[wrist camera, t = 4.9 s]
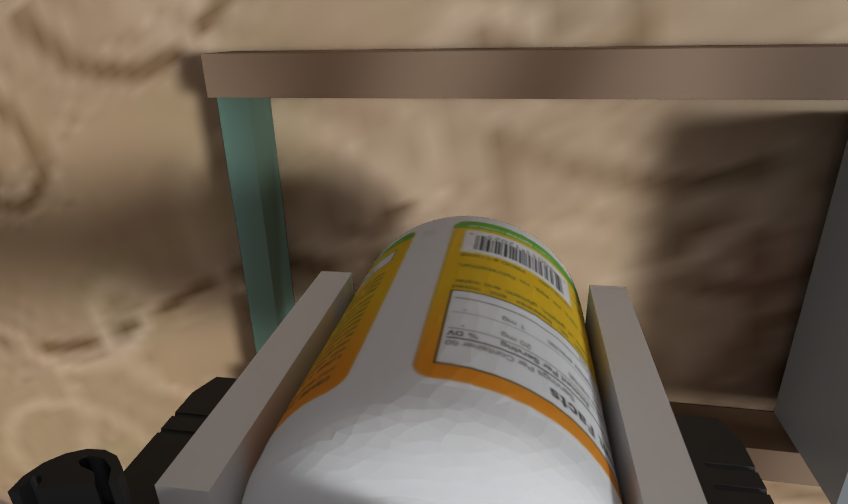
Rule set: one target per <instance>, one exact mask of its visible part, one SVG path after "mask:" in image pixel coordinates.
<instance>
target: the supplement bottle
mask: <svg viewBox="0 0 848 504" xmlns="http://www.w3.org/2000/svg"><path fill="white" fill-rule="evenodd" d="M241 504H623V502H622V497H621V494H620V490H619V483H618V479H617V477H616V472H615V468H614V463H613V458H612V452H611V448H610V443H609V439H608V434H607V428H606V424H605V420H604V415H603V409H602V404H601V398H600V394H599V390H598V385H597V380H596V376H595V370H594V365H593V361H592V355H591V351H590V346H589V341H588V336H587V332H586V327H585V322H584V317H583V312H582V308H581V304H580V301H579V297H578V293H577V291H576V288H575V285H574V283H573V281H572V279H571V277H570V275H569V273H568V272H567V270H566V269H565V267H564V266H563V265H562V263H561V262H560V261H559V259H558V258H557V257H556V256H555V255H554V254H553V253H552V252H551V251H550V250H549V249H548V248H547V247H546V246H545V245H544V244H543V243H541V242H540V241H539V240H537V239H536V238H535V237H533V236H532V235H530V234H528V233H527V232H525V231H523V230H521V229H519V228H517V227H515V226H512V225H510V224H507V223H504V222H501V221H498V220H494V219H489V218H484V217H474V216H455V217H448V218H442V219H437V220H433V221H430V222H427V223H425V224H422V225H419V226H417V227H415V228H413V229H411V230H410V231H408V232H406V233H405V234H403V235H402V236H400V237H399V238H397V239H396V240H395V241H393V242H392V243H391V244H390V245H389V246H388V247H387V248H386V249H385V250H384V251H383V252H382V253H381V255H380V256H379V257H378V258H377V260H376V261H375V262H374V264H373V265H372V267H371V269H370V270H369V271H368V273H367V275H366V276H365V278H364V280H363V282H362V283H361V285H360V287H359V288H358V290H357V292H356V294H355V295H354V297H353V299H352V301H351V303H350V304H349V306H348V308H347V309H346V311H345V313H344V314H343V316H342V318H341V320H340V321H339V323H338V325H337V327H336V328H335V330H334V331H333V333H332V334H331V336H330V338H329V339H328V341H327V343H326V345H325V346H324V348H323V349H322V351H321V353H320V355H319V356H318V358H317V359H316V360H315V362H314V364H313V366H312V367H311V369H310V371H309V373H308V374H307V376H306V378H305V379H304V381H303V383H302V384H301V386H300V388H299V389H298V391H297V393H296V395H295V396H294V398H293V399H292V401H291V402H290V404H289V406H288V408H287V410H286V411H285V413H284V414H283V416H282V418H281V420H280V421H279V423H278V425H277V427H276V428H275V430H274V432H273V433H272V435H271V437H270V438H269V440H268V443H267V445H266V447H265V449H264V451H263V453H262V455H261V457H260V459H259V460H258V462H257V464H256V466H255V468H254V470H253V472H252V474H251V476H250V478H249V481H248V484H247V486H246V489H245V492H244V496H243V499H242V503H241Z"/></svg>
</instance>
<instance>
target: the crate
mask: <svg viewBox="0 0 848 504" xmlns="http://www.w3.org/2000/svg"><path fill="white" fill-rule="evenodd" d="M774 414H775V415H776V417H777V418H778V420H779V422H780V423H781V425H782V426H783V428H784V429H785V431H786V433H787V434H788V436H789V437H790V439H791V441H792V442H793V444H794V445H795V447H796V449H797V450H798V452H799V453H800V455H801V457H802V458H803V460H804V461H805V463H806V465H807V466H808V468H809V469H810V471H811V473H812V474H813V476H814V477H815V479H816V480H817V482H818V484H819V485H820V487H821V488H822V490H823V492H824V493H825V495H826V496H827V498H828V500H829V501H830V503H831V504H848V140H847V144H846V147H845V151H844V155H843V158H842V162H841V166H840V169H839V173H838V177H837V181H836V184H835V188H834V192H833V195H832V199H831V203H830V206H829V210H828V214H827V217H826V221H825V225H824V228H823V232H822V236H821V239H820V243H819V247H818V250H817V254H816V258H815V262H814V265H813V269H812V273H811V276H810V280H809V284H808V287H807V291H806V295H805V298H804V302H803V306H802V309H801V313H800V317H799V320H798V324H797V328H796V331H795V335H794V339H793V342H792V346H791V350H790V354H789V357H788V361H787V365H786V368H785V372H784V376H783V379H782V383H781V387H780V390H779V394H778V398H777V401H776V405H775V409H774Z"/></svg>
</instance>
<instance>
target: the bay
mask: <svg viewBox="0 0 848 504" xmlns="http://www.w3.org/2000/svg"><path fill="white" fill-rule="evenodd" d="M201 60H202V66H203V72H204V78H205V85H206V91H207V97H208V98H217V102H218V109H219V115H220V122H221V128H222V135H223V141H224V148H225V154H226V161H227V167H228V174H229V180H230V187H231V193H232V200H233V206H234V213H235V219H236V226H237V232H238V239H239V245H240V252H241V258H242V265H243V271H244V278H245V284H246V291H247V297H248V304H249V310H250V317H251V323H252V330H253V336H254V342H255V349H256V354H257V353H258V352H259V350H260V349H261V348H262V347H263V345H264V344H265V343H266V341H267V340H268V339H269V338H270V336H271V335H272V334H273V332H274V331H275V330H276V329H277V327H278V326H279V325H280V324H281V322H282V321H283V320H284V318H285V317H286V316H287V315H288V313H289V312H290V311H291V309H292V308H293V307H294V306H295V304H294V295H293V287H292V278H291V270H290V262H289V253H288V245H287V236H286V228H285V220H284V211H283V203H282V194H281V186H280V177H279V169H278V161H277V152H276V144H275V135H274V127H273V118H272V110H271V102H270V98H491V99H777V100H848V44H782V45H700V46H618V47H536V48H454V49H372V50H290V51H231V52H219V53H207V54H201ZM669 403H670V406H671V409H672V411H673V414H674V415H684V416H696V417H707V418H718V419H719V420H720V421H721V422H722V423H723V424H724V425H725V426H726V427H727V428H728V429H729V430H730V431H732V432H733V433H734V434H735V435H736V436H737V437H738V438H739V439H740V440H741V441H742V442H743V444H744V446H745V448H746V450H747V452H748V454H749V456H750V458H751V460H752V462H753V464H754V466H755V471H756V472H758V473H759V475H760V477H761V479H762V480H767V481H776V482H785V483H794V484H802V485H811V486H820V485H819V484H818V482H817V480H816V479H815V477H814V476H813V474H812V473H811V471H810V469H809V468H808V466H807V465H806V463H805V461H804V460H803V458H802V457H801V455H800V453H799V452H798V450H797V449H796V447H795V445H794V444H793V442H792V441H791V439H790V437H789V436H788V434H787V433H786V431H785V429H784V428H783V426H782V425H781V423H780V422H779V420H778V418H777V417H776V415H775V414H774V412H768V411H757V410H746V409H736V408H725V407H714V406H703V405H692V404H682V403H671V402H669Z"/></svg>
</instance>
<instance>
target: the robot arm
mask: <svg viewBox="0 0 848 504" xmlns="http://www.w3.org/2000/svg"><path fill="white" fill-rule="evenodd" d="M353 297H354V288H353V276H352V273H351V272H332V271H321V272H320V273H319V275H318V276H317V277H316V279H315V280H314V281H313V282H312V284H311V285H310V286H309V288H308V289H307V290H306V291H305V293H304V294H303V295H302V297H301V298H300V299H299V300H298V302H297V303H296V304H295V306H294V307H293V308H292V309H291V311H290V312H289V313H288V315H287V316H286V317H285V318H284V320H283V321H282V322H281V324H280V325H279V326H278V327H277V329H276V330H275V331H274V332H273V334H272V335H271V336H270V338H269V339H268V340H267V341H266V343H265V344H264V345H263V347H262V348H261V349H260V350H259V352H258V353H257V354H256V356H255V357H254V358H253V359H252V361H251V362H250V363H249V365H248V366H247V367H246V368H245V370H244V371H243V372H242V374H241V375H240V376H239V377H238V379H234V378H223V377H216V378H214V379H213V380H211V381H210V382H208V383H206V384H205V385H203V386H202V387H200V388H199V389H197V390H196V391H194V392H193V393H192V394H191V395H190V396H189V397H188V398H187V399H186V400H185V402H184V403H183V404H182V405H181V406H180V407H179V408H178V410H177V411H176V412H175V416H171V418H170V419H169V420H168V421H167V422H166V423H165V425H164V426H163V427H162V428H161V432H160V433H157V434H156V435H155V436H154V437H153V438H152V439H151V441H150V442H149V443H148V444H147V445H146V446H145V448H144V449H143V450H142V451H141V452H140V453H139V454H138V456H137V457H136V458H135V459H134V460H133V461H132V462H131V464H130V465H129V466H128V467H127V468H126V469H125V471H124V472H123V469H122V466H121V464H120V461H119V459H118V457H117V456H116V455H114V454H112V453H110V452H108V451H106V450H99V449H84V450H80V451H75V452H70V453H65V454H63V455H61V456H58V457H56V458H54V459H51V460H49V461H47V462H44V463H42V464H41V465H39V466H38V467H36V468H35V469H33V470H32V471H30V472H29V473H27V474H26V475H24V476H23V477H22V478H21V479H20V480H19V481H18V482H17V483H16V484H15V485H14V486H13V487H12V488H11V489H10V490H9V491H8V494H9V496H10V498H11V501H12V503H13V504H241V503H242V499H243V496H244V492H245V489H246V486H247V484H248V481H249V478H250V476H251V474H252V472H253V470H254V468H255V466H256V464H257V462H258V460H259V459H260V457H261V455H262V453H263V451H264V449H265V447H266V445H267V443H268V440H269V438H270V437H271V435H272V433H273V432H274V430H275V428H276V427H277V425H278V423H279V421H280V420H281V418H282V416H283V414H284V413H285V411H286V410H287V408H288V406H289V404H290V402H291V401H292V399H293V398H294V396H295V395H296V393H297V391H298V389H299V388H300V386H301V384H302V383H303V381H304V379H305V378H306V376H307V374H308V373H309V371H310V369H311V367H312V366H313V364H314V362H315V360H316V359H317V358H318V356H319V355H320V353H321V351H322V349H323V348H324V346H325V345H326V343H327V341H328V339H329V338H330V336H331V334H332V333H333V331H334V330H335V328H336V327H337V325H338V323H339V321H340V320H341V318H342V316H343V314H344V313H345V311H346V309H347V308H348V306H349V304H350V303H351V301H352V299H353ZM585 327H586V332H587V336H588V341H589V346H590V351H591V355H592V361H593V365H594V370H595V376H596V380H597V385H598V390H599V394H600V398H601V404H602V409H603V415H604V420H605V424H606V428H607V434H608V439H609V443H610V448H611V452H612V458H613V463H614V468H615V472H616V477H617V479H618V483H619V490H620V494H621V497H622V502H623V504H774V503H773V501H772V499H771V497H770V495H767V489H766V487H765V485H764V483H763V481H762V479H761V477H760V475H759V473H758V472H756V471H755V466H754V464H753V462H752V460H751V458H750V456H749V454H748V452H747V450H746V448H745V446H744V444H743V442H742V441H741V440H740V439H739V438H738V437H737V436H736V435H735V434H734V433H733V432H732V431H730V430H729V429H728V428H727V427H726V426H725V425H724V424H723V423H722V422H721V421H720V420H719V419H718V418H707V417H696V416H684V415H674V414H673V411H672V409H671V406H670V403H669V401H668V398H667V396H666V393H665V390H664V388H663V385H662V382H661V380H660V377H659V374H658V372H657V369H656V366H655V364H654V361H653V359H652V356H651V353H650V351H649V348H648V345H647V343H646V340H645V337H644V335H643V332H642V329H641V327H640V324H639V321H638V319H637V316H636V314H635V311H634V308H633V306H632V303H631V300H630V298H629V295H628V292H627V290H626V287H617V286H599V285H589V294H588V303H587V313H586V322H585Z"/></svg>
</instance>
